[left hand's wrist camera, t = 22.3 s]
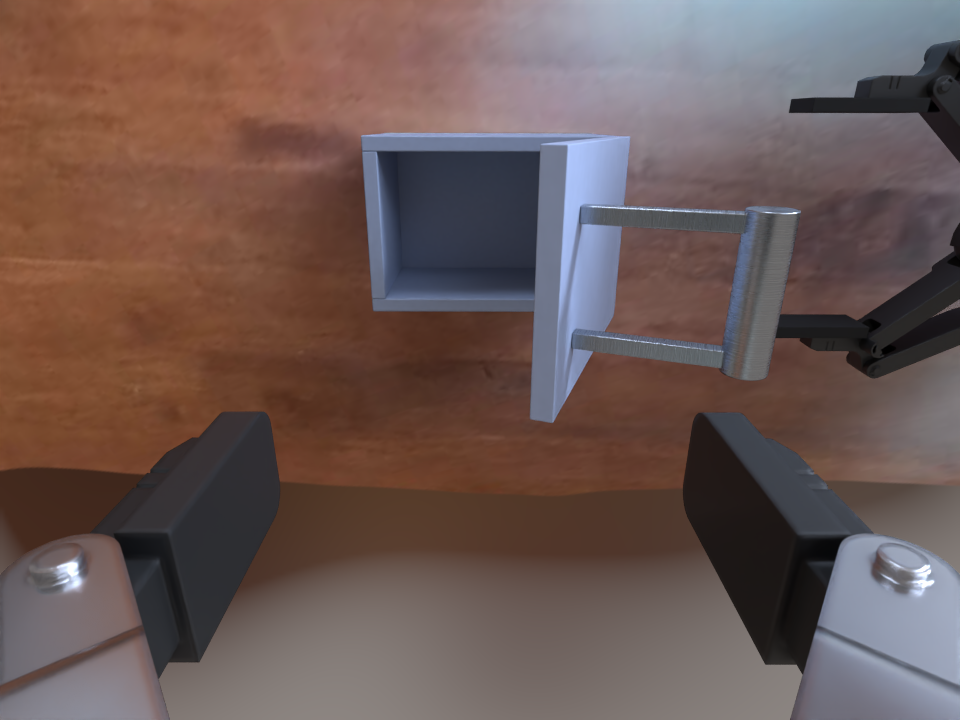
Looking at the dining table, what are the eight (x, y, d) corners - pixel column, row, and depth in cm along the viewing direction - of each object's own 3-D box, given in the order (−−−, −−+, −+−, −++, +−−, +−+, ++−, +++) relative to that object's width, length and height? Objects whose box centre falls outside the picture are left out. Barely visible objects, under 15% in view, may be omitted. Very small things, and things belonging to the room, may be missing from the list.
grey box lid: (529, 419, 23) (762, 460, 20) (540, 143, 19) (828, 147, 17) (598, 313, 36) (746, 330, 33) (612, 136, 32) (781, 137, 30)
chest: (393, 275, 45) (372, 311, 37) (385, 133, 41) (360, 135, 33) (580, 276, 45) (604, 312, 37) (590, 133, 41) (619, 135, 33)
